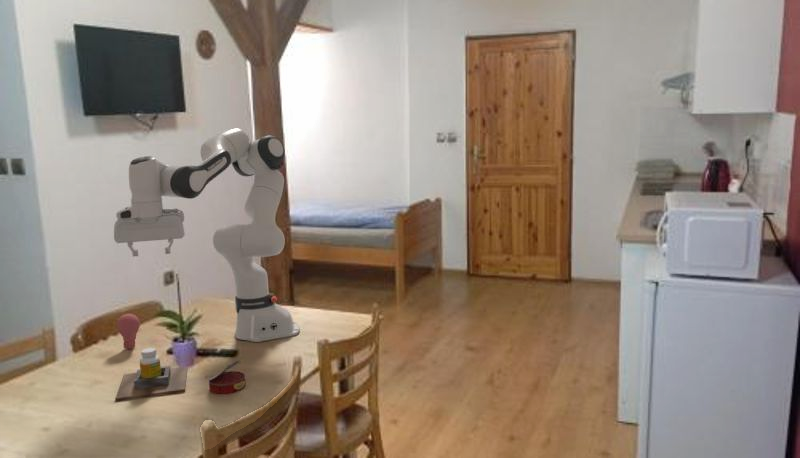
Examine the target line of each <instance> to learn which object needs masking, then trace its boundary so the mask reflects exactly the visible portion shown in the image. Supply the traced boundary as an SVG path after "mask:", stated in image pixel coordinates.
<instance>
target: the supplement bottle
mask: <svg viewBox="0 0 800 458" xmlns="http://www.w3.org/2000/svg"><path fill="white" fill-rule="evenodd" d="M140 351H141V352H140V354H141V358H139V368H140V370H141V379H144V378H152V377H159V376H161V367H162V366H161V359H160V356H159V355H157V348H154V347H148V348H144V349H142V350H140Z"/></svg>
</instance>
